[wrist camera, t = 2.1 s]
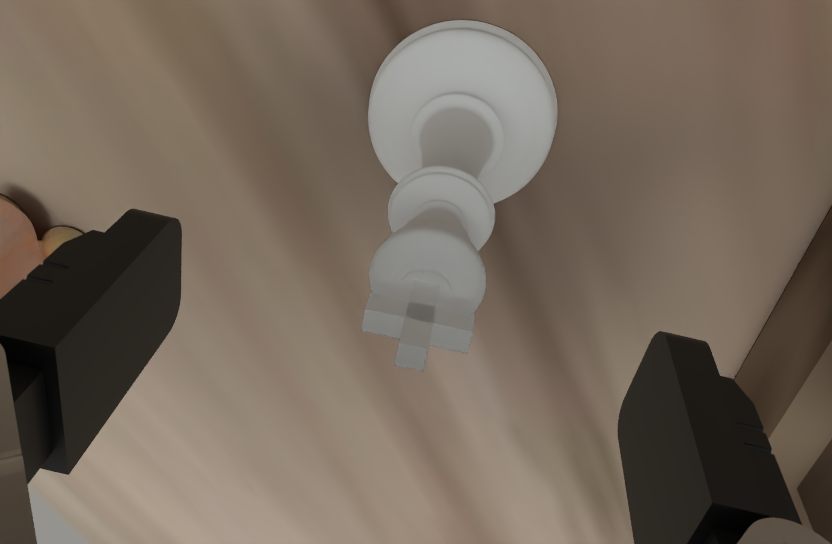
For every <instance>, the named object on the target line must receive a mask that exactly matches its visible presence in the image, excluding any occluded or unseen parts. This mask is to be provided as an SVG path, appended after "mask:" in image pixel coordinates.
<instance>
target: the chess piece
mask: <svg viewBox="0 0 832 544" xmlns="http://www.w3.org/2000/svg"><path fill="white" fill-rule="evenodd" d="M557 115H558V109H557V98H556V93H555V89H554V86H553V83H552V80H551V77H550V75H549V73H548V71H547V69H546V67H545V66H544V64H543V63H542V61H541V60H540V58H539V57H538V56H537V54H536V53H535V52H534V51H533V50H532V49H531V48H530V47H529V46H528V45H527V44H526V43H525V42H523V41H522V40H521V39H519V38H518V37H516V36H515V35H513V34H512V33H510V32H508V31H506V30H504V29H502V28H500V27H497V26H494V25H491V24H488V23H484V22H479V21H472V20H452V21H445V22H440V23H436V24H433V25H430V26H427V27H425V28H422V29H420V30H418V31H416V32H415V33H413V34H411V35H410V36H408V37H407V38H405V39H404V40H403V41H401V42H400V43H399V44H398V45H397V46H396V47H395V48H394V49H393V50H392V51H391V52H390V53H389V55H388V56H387V57H386V59H385V60H384V61H383V63H382V65H381V66H380V68H379V70H378V72H377V74H376V76H375V79H374V82H373V85H372V89H371V93H370V99H369V108H368V126H369V133H370V138H371V142H372V145H373V148H374V150H375V153H376V155H377V157H378V159H379V161H380V162H381V164H382V166H383V167H384V169H385V170H386V171H387V173H388V174H389V175H390V176H391V177H392V178H393V179H394V180H395V181H396V182H397V183H398V184H397V185H396V187H395V188H394V190H393V192H392V194H391V196H390V199H389V203H388V220H389V224H390V227H391V231H392V233H393V234H392V235H391V236H389V237H388V238H387V239H386V240H385V241H384V242H383V243H382V244H381V245H380V247H379V248H378V249H377V251H376V253H375V254H374V256H373V259H372V261H371V265H370V270H369V281H370V286H371V290H372V293H370V295H369V298H368V301H367V304H366V307H365V312H364V318H363V324H362V331H365V332H369V333H374V334H379V335H383V336H388V337H393V338H397V339H400V341H399V346H398V351H397V356H396V360H395V365H396V366H401V367H406V368H410V369H415V370H419V371H423V370H424V366H425V361H426V357H427V353H428V348H429V345H430V346H434V347H439V348H443V349H448V350H453V351H457V352H462V353H468V349H469V346H470V342H471V338H472V335H473V329H474V319H475V315H472V314H473V313H474V312H475V311H476V309H477V308H478V307H479V305H480V303H481V302H482V299H483V297H484V294H485V290H486V273H485V268H484V265H483V262H482V259H481V257H480V255H479V253H478V251H479V250H480V249H481V248H482V247H483V245H484V244H485V243H486V242H487V240H488V239H489V237H490V235H491V233H492V231H493V227H494V223H495V209H494V203H496V202H499V201H501V200H504V199H506V198H508V197H509V196H511V195H513V194H514V193H516V192H517V191H519V190H520V189H521V188H523V187H524V186H525V185H526V184H527V183H528V182H529V181H530V180H531V179H532V178H533V177H534V176H535V175H536V173H537V172H538V171H539V169H540V168H541V166H542V165H543V163H544V161H545V159H546V157H547V155H548V153H549V151H550V148H551V145H552V141H553V138H554V135H555V131H556V126H557Z"/></svg>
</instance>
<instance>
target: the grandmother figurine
mask: <svg viewBox="0 0 832 544" xmlns="http://www.w3.org/2000/svg"><path fill="white" fill-rule="evenodd" d="M80 235H83V234H82V233H81V232H79V231H77V230H75V229H73V228H69V227H54V228H51V229H50V230H48V231H47V232H46V233H45V234H44V236H43V238H42V240H41V241H40V240H39V241H38V240H37V236H36V233H35V230H34V227H33V225H32V223H31V221H30V220H29V219H28V217H27V216H26V215H25V214H24V213H23V212H22V211H21V210H20V208H19V207H18V206H17V205H16V204H14V203H13V202H12V201H11V200H9V199H8V198H6V197H4V196H1V195H0V299H1V298H2V297H3V296H4V295H5V294H7V293H8V292H9V291H10V290H11V289H12V288H13V287H14V286H16V285H17V284H18V283H19V282H20V281H21V280H22V279H25V280H26V278H27V275H28V274H29V273H30V272H31V271H32V270H33V269H35V268H36V267H37V266H38V265H39V264H41V265H42V264H43V260H45V259H46V258H47V257H48V256H49V255H50V254H51V253H52V252H53V251H55V250H56V249H57V248H58V247H59V246H60V245H61V244H62V243H64V242H66V241H69V240H71V239H73V238H76V237H78V236H80Z"/></svg>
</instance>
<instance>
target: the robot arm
mask: <svg viewBox="0 0 832 544" xmlns="http://www.w3.org/2000/svg"><path fill="white" fill-rule="evenodd" d="M181 246H182V230H181V224H180V222H179V220H178V219H176V218H172V217H168V216H163V215H159V214H155V213H150V212H146V211H142V210H137V209H130V210H128V211H127V212H126V213H125V214H124V215H123V216H122V217H121V218H120V219H119V220H118V221H117V222H115V223H114V224H113V225H112V226H111V227H110V228H109V229H108V230H107V231H106V232H105V233H103V232H99V231H95V230H92V231H90V232H87V233H85V234H83V235H80V236H78V237H76V238H73V239H71V240H69V241H66V242H64V243H62V244H61V245H60V246H59V247H58V248H57V249H56V250H55V251H53V252H52V253H51V254H50V255H49V256H48V257H47V258H46V259H45V260H43V264H42V265H41V264H39V265H38V266H37V267H36V268H35V269H33V270H32V271H31V272H30V273H29V274H28V275H27V278H26V280H25V279H22V280H21V281H20V282H19V283H18V284H17V285H16V286H14V287H13V288H12V289H11V290H10V291H9V292H8V293H7V294H5V295H4V296H3V297H2V298H1V299H0V544H37V541H36V535H35V529H34V522H33V516H32V511H31V504H30V498H29V492H28V486H27V485H28V483H29V482H30V481H31V479H32V478H33V477H34V475H35V474H36V473H37V471H38V470H39V469H40V468H41V469H46V470H50V471H54V472H59V473H63V474H67V475H69V474H70V472H71V471H72V469H73V468H74V466H75V465H76V464H77V462H78V461H79V459H80V458H81V457H82V455H83V454H84V452H85V451H86V449H87V448H88V447H89V445H90V444H91V442H92V441H93V440H94V438H95V437H96V435H97V434H98V433H99V431H100V430H101V428H102V427H103V425H104V424H105V423H106V421H107V420H108V418H109V417H110V416H111V414H112V413H113V411H114V410H115V408H116V407H117V406H118V404H119V403H120V401H121V400H122V399H123V397H124V396H125V394H126V393H127V391H128V390H129V389H130V387H131V386H132V384H133V383H134V382H135V380H136V379H137V377H138V376H139V374H140V373H141V372H142V370H143V369H144V367H145V366H146V365H147V363H148V362H149V360H150V359H151V358H152V356H153V355H154V353H155V352H156V350H157V349H158V348H159V346H160V345H161V343H162V342H163V341H164V339H165V338H166V336H167V335H168V333H169V332H170V330H171V329H172V327H173V324H174V322H175V320H176V317H177V314H178V310H179V305H180V299H181ZM763 429H764V428H763V425H762V423H761V420H760V418H759V415H758V413H757V410H756V408H755V405H754V403H753V402H752V401H751V400H750V398H749V397H748V396H747V395H746V394H745V393H744V392H743V390H742V389H741V388H740V387H739V386H738V385H737V383H736V382H735V381H734V380H733V379H731V378H727V377H723V376H720V375H719V372H718V369H717V366H716V364H715V361H714V358H713V355H712V352H711V350H710V347H709V345H708V344H707V342H705V341H701V340H697V339H693V338H688V337H684V336H680V335H675V334H671V333H667V332H662V331H659V332H657V333H656V334H655V335H654V337H653V338H652V340H651V342H650V344H649V346H648V348H647V350H646V352H645V355H644V357H643V359H642V361H641V363H640V365H639V368H638V370H637V372H636V374H635V376H634V378H633V381H632V383H631V385H630V387H629V389H628V391H627V394H626V396H625V398H624V400H623V403H622V406H621V410H620V414H619V420H618V440H619V447H620V453H621V460H622V466H623V473H624V479H625V486H626V492H627V499H628V505H629V512H630V518H631V525H632V531H633V537H634V544H831V543H829V542H828V541H827V540H826V539H824V538H823V537H822V536H820V535H819V534H817V533H815V532H814V531H812V530H811V529H809V528H807V527H805V526H803V525H802V523H801V520H800V518H799V515H798V513H797V510H796V508H795V505H794V503H793V500H792V498H791V495H790V493H789V490H788V488H787V485H786V483H785V480H784V478H783V475H782V473H781V470H780V468H779V465H778V463H777V460H776V458H775V455H774V454H771V450H772V448H771V445H770V443H769V440H768V438H767V435H766V433H763Z"/></svg>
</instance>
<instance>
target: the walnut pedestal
mask: <svg viewBox="0 0 832 544" xmlns="http://www.w3.org/2000/svg"><path fill="white" fill-rule="evenodd" d="M734 381H735V382H736V383H737V385H738V386H739V387H740V388H741V389H742V390H743V392H744V393H745V394H746V395H747V396H748V397H749V398H750V400H751V401H752V402H753V403H754V405H755V408H756V410H757V413H758V415H759V418H760V420H761V423H762V425H763V428H764V429H763V433H766V435H767V438H768V440H769V443H770V445H771V448H772V450H771V454H774V455H775V458H776V460H777V463H778V465H779V468H780V470H781V473H782V475H783V478H784V480H785V483H786V485H787V488H788V490H789V493H790V495H791V498H792V500H793V503H794V505H795V508H796V510H797V513H798V515H799V518H800V520H801V523H802V525H803V526H805V527H807V528H809V529H811V530H812V531H814V532H815V533H817V534H819V535H820V536H822V537H823V538H824V539H826V540H827V541H828V542H829V543H831V544H832V207H831V209H830V211H829V213H828V214H827V216H826V218H825V220H824V221H823V223H822V225H821V227H820V229H819V230H818V232H817V234H816V236H815V237H814V239H813V241H812V243H811V245H810V246H809V248H808V250H807V252H806V253H805V255H804V257H803V259H802V261H801V262H800V264H799V266H798V268H797V269H796V271H795V273H794V275H793V276H792V278H791V280H790V282H789V284H788V285H787V287H786V289H785V291H784V292H783V294H782V296H781V298H780V300H779V301H778V303H777V305H776V307H775V308H774V310H773V312H772V314H771V315H770V317H769V319H768V321H767V323H766V324H765V326H764V328H763V330H762V331H761V333H760V335H759V337H758V339H757V340H756V342H755V344H754V346H753V347H752V349H751V351H750V353H749V354H748V356H747V358H746V360H745V362H744V363H743V365H742V367H741V369H740V370H739V372H738V374H737V376H736V378H735V379H734Z"/></svg>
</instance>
